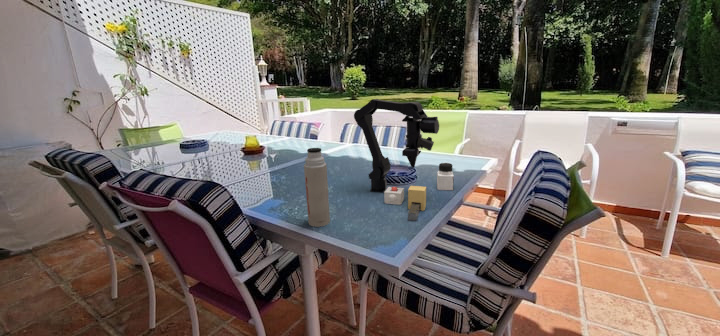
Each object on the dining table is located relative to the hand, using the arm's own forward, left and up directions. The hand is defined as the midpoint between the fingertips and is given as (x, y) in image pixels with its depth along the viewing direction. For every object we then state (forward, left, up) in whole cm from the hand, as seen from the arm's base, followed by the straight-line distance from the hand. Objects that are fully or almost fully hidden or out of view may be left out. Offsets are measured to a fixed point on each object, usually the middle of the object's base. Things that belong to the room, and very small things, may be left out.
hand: (413, 167), depth 137 cm
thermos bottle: (-29, -36, -13) cm, 48 cm away
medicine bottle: (+13, +14, -13) cm, 23 cm away
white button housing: (-6, -9, -13) cm, 17 cm away
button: (-6, -9, -9) cm, 14 cm away
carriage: (+4, -14, -13) cm, 19 cm away
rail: (+4, -18, -13) cm, 23 cm away
